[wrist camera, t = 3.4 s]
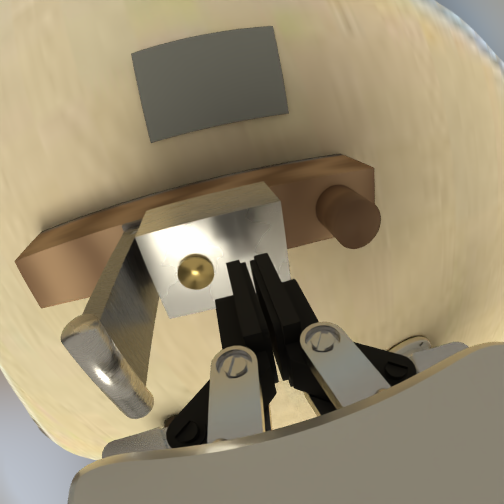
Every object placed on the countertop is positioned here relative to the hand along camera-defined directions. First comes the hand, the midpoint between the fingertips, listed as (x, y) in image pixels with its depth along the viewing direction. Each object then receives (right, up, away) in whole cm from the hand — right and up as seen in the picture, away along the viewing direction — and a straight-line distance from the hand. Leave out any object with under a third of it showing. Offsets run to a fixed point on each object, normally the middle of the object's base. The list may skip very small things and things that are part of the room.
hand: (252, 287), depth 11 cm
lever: (-7, +1, +5) cm, 8 cm away
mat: (-3, +13, +5) cm, 15 cm away
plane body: (-5, +4, +10) cm, 12 cm away
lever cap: (-2, +2, +6) cm, 7 cm away
